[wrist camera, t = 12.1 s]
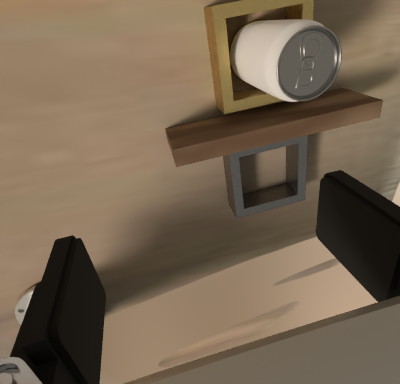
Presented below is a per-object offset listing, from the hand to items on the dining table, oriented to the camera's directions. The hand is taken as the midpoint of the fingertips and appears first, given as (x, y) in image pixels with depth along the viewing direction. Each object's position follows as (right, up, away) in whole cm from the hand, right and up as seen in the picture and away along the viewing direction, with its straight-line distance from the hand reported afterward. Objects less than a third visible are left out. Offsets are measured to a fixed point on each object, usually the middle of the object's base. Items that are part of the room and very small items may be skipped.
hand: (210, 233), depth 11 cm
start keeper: (+8, +5, +30) cm, 31 cm away
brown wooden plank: (+7, +12, +26) cm, 29 cm away
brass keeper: (+6, +18, +22) cm, 29 cm away
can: (+6, +18, +22) cm, 29 cm away
